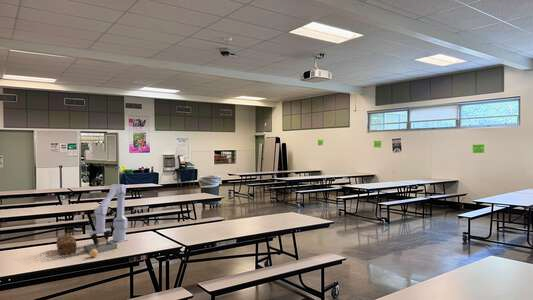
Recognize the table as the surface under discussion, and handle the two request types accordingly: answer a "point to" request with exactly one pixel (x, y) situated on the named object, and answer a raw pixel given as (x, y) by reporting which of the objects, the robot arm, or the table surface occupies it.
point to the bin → (101, 249)
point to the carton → (101, 242)
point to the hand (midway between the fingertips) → (100, 243)
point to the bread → (66, 245)
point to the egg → (93, 253)
